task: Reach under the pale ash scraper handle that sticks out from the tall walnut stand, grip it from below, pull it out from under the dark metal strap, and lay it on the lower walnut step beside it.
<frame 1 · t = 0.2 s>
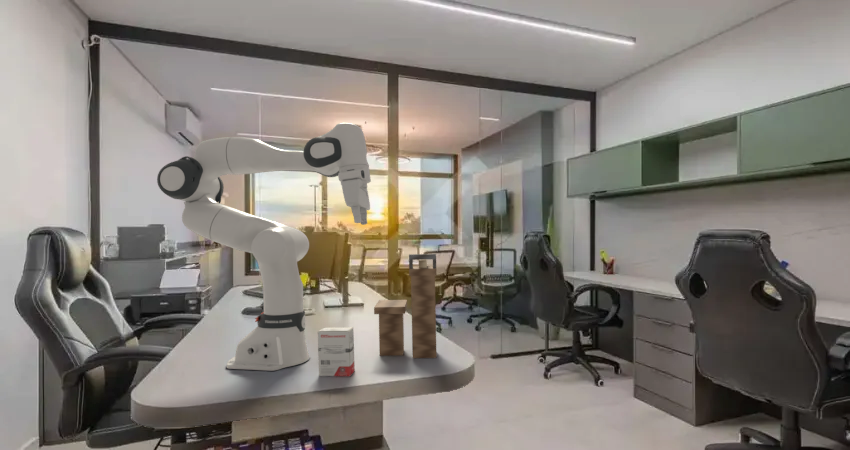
hand: (361, 223, 122), 40 cm above the table, tool pointing down, fingers open, 8 cm apart
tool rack: (404, 356, 123), on the table
handle: (423, 266, 130), point 26 cm above the table, touching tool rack
ink box: (337, 374, 109), on the table
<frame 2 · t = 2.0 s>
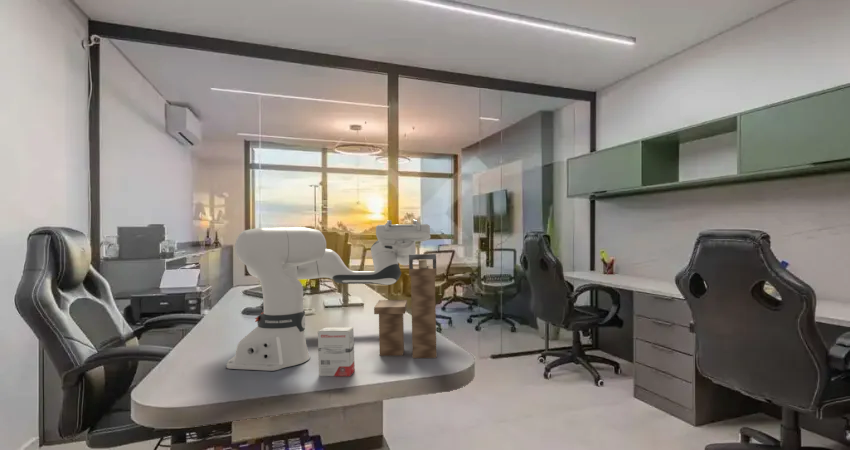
hand: (402, 221, 149), 41 cm above the table, tool pointing upward, fingers open, 8 cm apart
nothing on the table moved.
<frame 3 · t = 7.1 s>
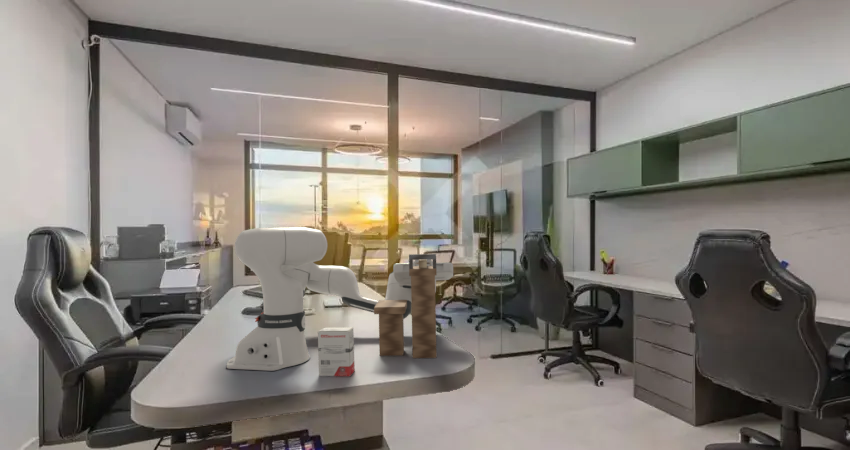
hand: (422, 261, 134), 27 cm above the table, tool pointing upward, fingers closed on handle, 2 cm apart
handle: (423, 266, 130), point 26 cm above the table, touching gripper, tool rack
everything else where it was.
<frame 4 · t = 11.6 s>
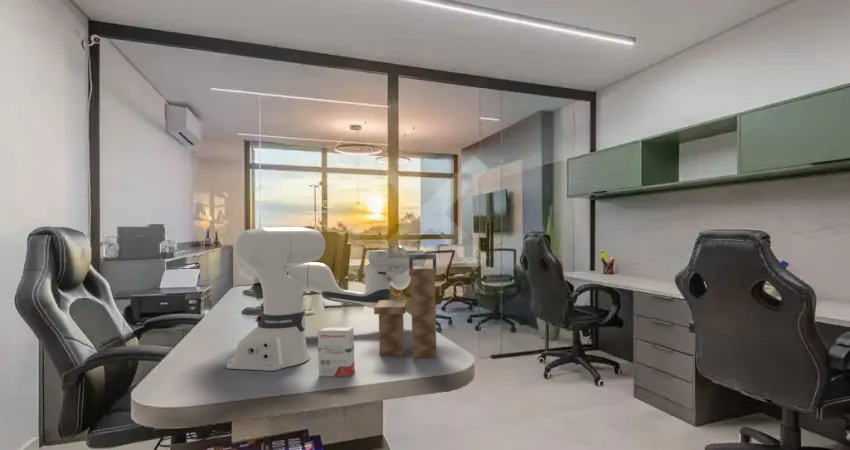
hand: (395, 248, 144), 31 cm above the table, tool pointing upward, fingers closed on handle, 2 cm apart
handle: (394, 252, 140), point 30 cm above the table, touching gripper
everything else where it was.
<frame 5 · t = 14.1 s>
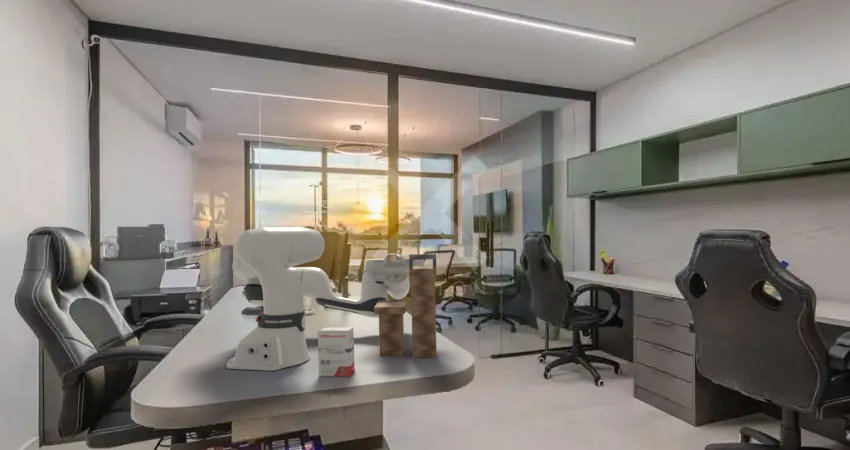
hand: (393, 256, 137), 29 cm above the table, tool pointing upward, fingers closed on handle, 2 cm apart
handle: (392, 261, 133), point 28 cm above the table, touching gripper
everything else where it was.
when the fingers open (19 cm above the table, at t = 16.3 s): handle drops 3 cm, resting on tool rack.
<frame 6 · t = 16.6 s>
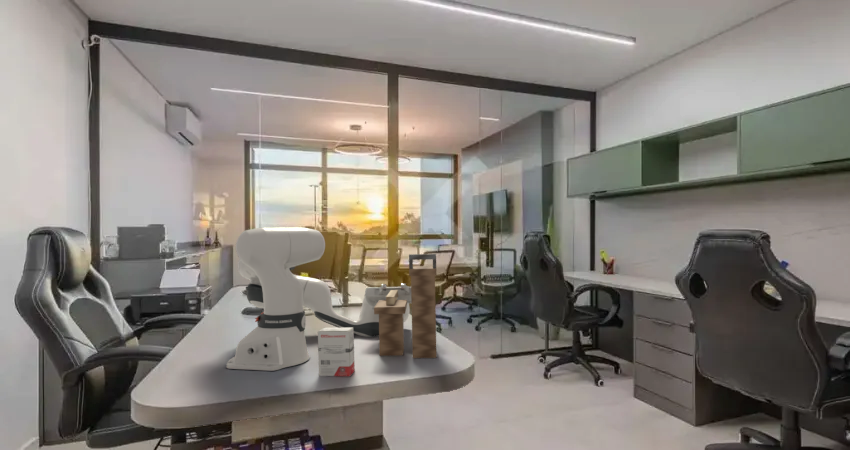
hand: (393, 286, 136), 19 cm above the table, tool pointing upward, fingers open, 5 cm apart
handle: (392, 300, 132), point 15 cm above the table, touching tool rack
everything else where it was.
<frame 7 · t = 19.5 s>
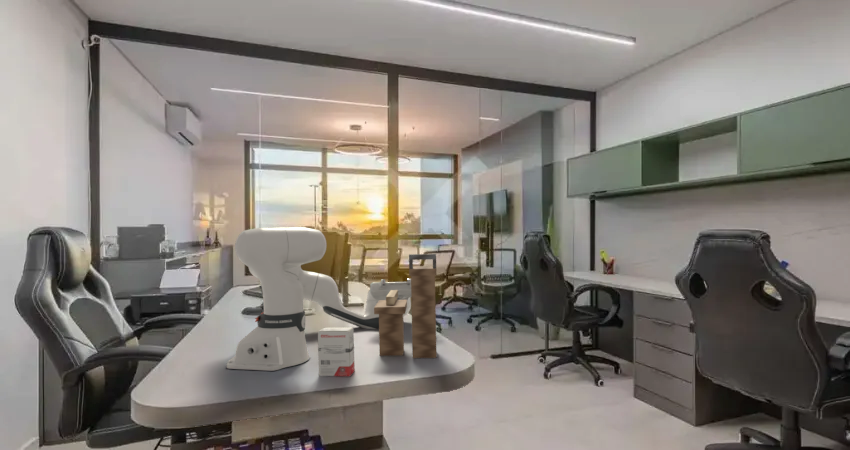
hand: (396, 281, 148), 20 cm above the table, tool pointing upward, fingers open, 8 cm apart
nothing on the table moved.
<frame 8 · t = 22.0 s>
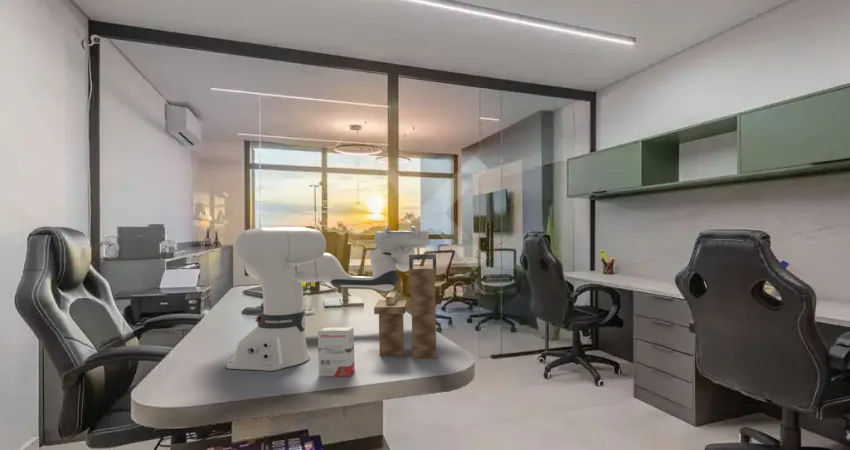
hand: (400, 228, 149), 38 cm above the table, tool pointing upward, fingers open, 8 cm apart
nothing on the table moved.
at the end: handle inside the target area (2.5 cm from its centre), point 15.0 cm above the table; handle tilted 0°; the gripper is holding nothing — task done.
